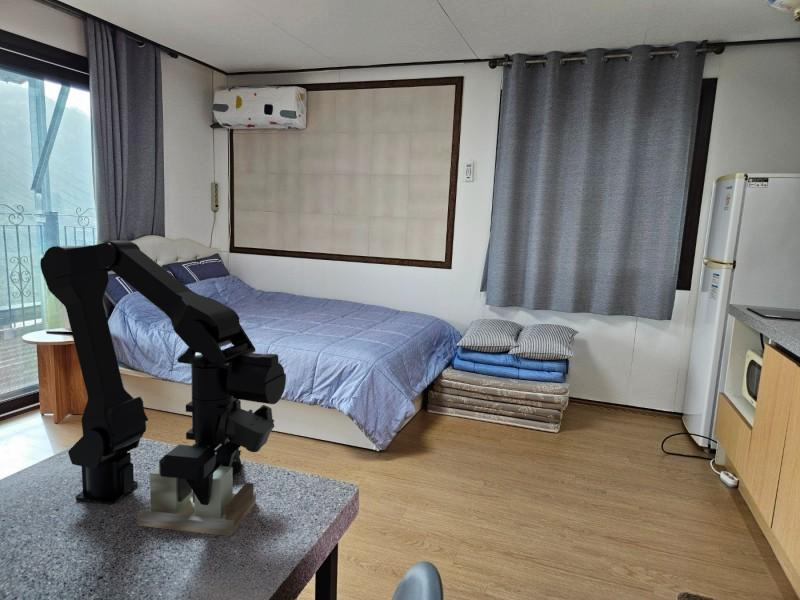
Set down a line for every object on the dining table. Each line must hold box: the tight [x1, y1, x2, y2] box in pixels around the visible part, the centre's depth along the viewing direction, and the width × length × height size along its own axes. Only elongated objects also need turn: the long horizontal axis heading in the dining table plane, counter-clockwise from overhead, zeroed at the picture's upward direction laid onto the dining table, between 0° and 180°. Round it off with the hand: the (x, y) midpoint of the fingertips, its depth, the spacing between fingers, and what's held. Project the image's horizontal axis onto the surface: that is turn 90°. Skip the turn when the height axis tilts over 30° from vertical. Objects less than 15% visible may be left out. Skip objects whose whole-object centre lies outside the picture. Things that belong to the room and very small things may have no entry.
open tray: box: [136, 465, 257, 537], centre depth 79 cm, size 14×9×7 cm, turn 83°
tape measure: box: [231, 447, 242, 476], centre depth 92 cm, size 7×7×4 cm
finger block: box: [193, 466, 234, 518], centre depth 78 cm, size 4×4×6 cm
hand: (213, 495), depth 78 cm, fingers open, 5 cm apart
